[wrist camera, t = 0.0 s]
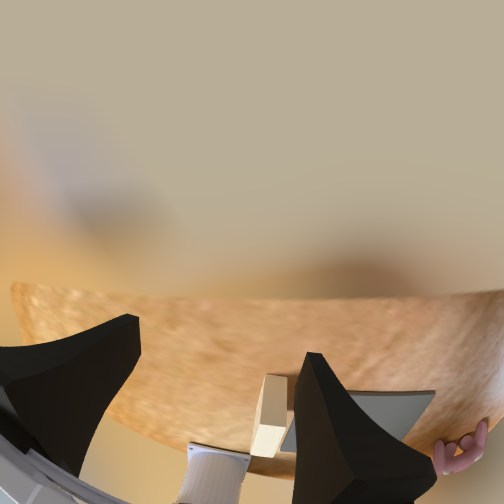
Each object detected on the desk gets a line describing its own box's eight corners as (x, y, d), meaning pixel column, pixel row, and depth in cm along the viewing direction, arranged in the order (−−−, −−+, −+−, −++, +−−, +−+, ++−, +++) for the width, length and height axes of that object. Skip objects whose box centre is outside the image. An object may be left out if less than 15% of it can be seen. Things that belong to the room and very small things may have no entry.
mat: (391, 448, 26) (392, 451, 25) (280, 447, 26) (280, 451, 26) (433, 390, 22) (435, 394, 22) (305, 387, 23) (306, 391, 23)
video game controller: (425, 444, 27) (430, 482, 22) (436, 440, 24) (441, 481, 19) (475, 423, 26) (481, 459, 21) (488, 416, 23) (495, 454, 18)
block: (276, 410, 25) (272, 457, 19) (256, 407, 25) (249, 454, 19) (287, 377, 23) (286, 427, 17) (265, 373, 23) (259, 424, 17)
